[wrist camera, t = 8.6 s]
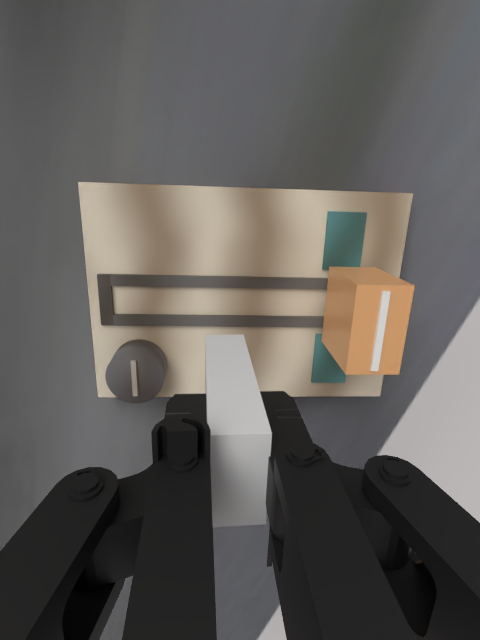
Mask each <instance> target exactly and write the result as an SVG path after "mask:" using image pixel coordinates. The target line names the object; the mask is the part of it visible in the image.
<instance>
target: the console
mask: <svg viewBox="0 0 480 640" xmlns="http://www.w3.org/2000/svg"><path fill="white" fill-rule="evenodd" d="M78 187H79V197H80V208H81V219H82V229H83V240H84V251H85V262H86V272H87V283H88V294H89V304H90V315H91V326H92V337H93V347H94V358H95V369H96V379H97V390H98V397H118V398H119V399H121V400H123V401H126V402H130V403H142V402H146V401H149V400H151V399H152V398H154V397H173V396H174V395H175V394H203V393H205V335H244V338H245V341H246V345H247V348H248V352H249V355H250V359H251V362H252V366H253V369H254V373H255V376H256V380H257V383H258V387H259V390H260V391H285V392H286V393H287V394H288V395H289V396H291V397H322V396H380V394H381V388H382V381H383V375H345V373H344V372H343V370H342V369H341V368H340V366H339V365H338V363H337V362H336V361H335V359H334V358H333V356H332V355H331V354H330V352H329V351H328V349H327V348H326V347H325V345H324V344H323V342H322V331H323V322H324V312H325V303H326V293H327V283H328V274H329V267H376V268H378V269H380V270H382V271H385V272H387V273H389V274H391V275H393V276H395V277H397V278H399V277H400V271H401V265H402V259H403V252H404V246H405V240H406V234H407V228H408V222H409V216H410V209H411V203H412V197H413V193H386V192H357V191H328V190H298V189H269V188H240V187H211V186H181V185H152V184H123V183H93V182H78Z"/></svg>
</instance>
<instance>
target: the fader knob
mask: <svg viewBox="0 0 480 640" xmlns="http://www.w3.org/2000/svg"><path fill="white" fill-rule="evenodd" d="M414 287H415V285H412V284H410V283H408V282H406V281H404V280H402V279H400V278H397V277H395V276H393V275H391V274H389V273H387V272H385V271H382V270H380V269H378V268H376V267H329V274H328V283H327V293H326V303H325V312H324V322H323V331H322V342H323V344H324V345H325V347H326V348H327V349H328V351H329V352H330V354H331V355H332V356H333V358H334V359H335V361H336V362H337V363H338V365H339V366H340V368H341V369H342V370H343V372H344V373H345V375H399V372H400V367H401V361H402V355H403V350H404V344H405V338H406V333H407V327H408V321H409V316H410V310H411V304H412V299H413V293H414Z"/></svg>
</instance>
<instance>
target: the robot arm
mask: <svg viewBox="0 0 480 640" xmlns="http://www.w3.org/2000/svg"><path fill="white" fill-rule="evenodd" d="M152 453H153V464H152V465H151V466H150V467H148V468H147V469H146V470H144V471H142V472H140V473H138V474H135V475H132V476H129V477H125V478H122V479H118V480H117V476H116V475H115V474H114V473H113V472H112V471H111V470H108V469H105V468H102V467H88V468H85V469H81V470H77V471H75V472H73V473H71V474H69V475H67V476H65V477H64V478H63V479H62V480H61V481H59V482H58V483H57V484H56V485H55V486H54V488H53V489H52V490H51V491H50V492H49V494H48V495H47V496H46V497H45V498H44V500H43V501H42V502H41V503H40V504H39V506H38V507H37V508H36V509H35V510H34V512H33V513H32V514H31V515H30V516H29V518H28V519H27V520H26V521H25V522H24V524H23V525H22V526H21V527H20V528H19V530H18V531H17V532H16V533H15V534H14V536H13V537H12V538H11V539H10V540H9V542H8V543H7V544H6V545H5V546H4V548H3V549H2V550H1V551H0V640H99V639H100V636H101V634H102V632H103V630H104V627H105V625H106V623H107V621H108V618H109V616H110V614H111V612H112V609H113V607H114V605H115V603H116V601H117V598H118V596H119V594H120V592H121V589H122V587H123V585H124V581H125V578H127V577H130V576H132V575H133V580H132V585H131V591H130V597H129V602H128V608H127V614H126V620H125V625H124V631H123V637H122V640H217V636H216V608H215V580H214V552H213V527H229V526H249V525H266V515H267V513H268V518H269V523H270V530H269V544H268V558H267V567H268V566H272V563H273V568H274V573H275V579H276V584H277V589H278V595H279V600H280V605H281V611H282V616H283V622H284V626H285V632H286V637H287V640H480V523H479V522H478V521H477V520H476V519H475V518H473V517H472V516H471V515H470V514H469V513H468V512H467V511H466V510H465V509H463V508H462V507H461V506H460V505H459V504H458V503H457V502H455V501H454V500H453V499H452V498H451V497H450V496H449V495H448V494H446V493H445V492H444V491H443V490H442V489H441V488H440V487H439V486H437V485H436V484H435V483H434V482H433V481H432V480H431V479H430V478H428V477H427V476H426V475H425V474H424V473H423V472H422V471H421V470H419V469H418V468H417V467H415V466H414V465H412V464H411V463H409V462H408V461H405V460H403V459H400V458H398V457H393V456H387V455H382V456H375V457H373V458H370V459H369V460H368V461H367V462H366V464H365V467H364V470H362V469H357V468H351V467H346V466H342V465H339V464H336V463H333V462H331V459H330V457H329V456H328V454H327V453H326V452H325V450H324V449H322V448H321V447H319V446H318V445H316V444H313V442H312V440H311V437H310V435H309V433H308V431H307V428H306V426H305V424H304V421H303V419H302V418H301V415H300V412H299V410H298V408H297V406H296V403H295V401H294V399H293V398H292V397H291V396H289V395H288V394H287V393H286V392H285V391H260V390H259V387H258V383H257V380H256V376H255V373H254V369H253V366H252V362H251V359H250V355H249V352H248V348H247V345H246V341H245V338H244V335H205V393H203V394H175V395H174V396H173V397H172V398H171V399H170V400H169V401H168V402H167V406H166V412H165V418H164V420H162V421H160V422H159V423H158V424H156V425H155V426H154V428H153V430H152Z"/></svg>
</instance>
